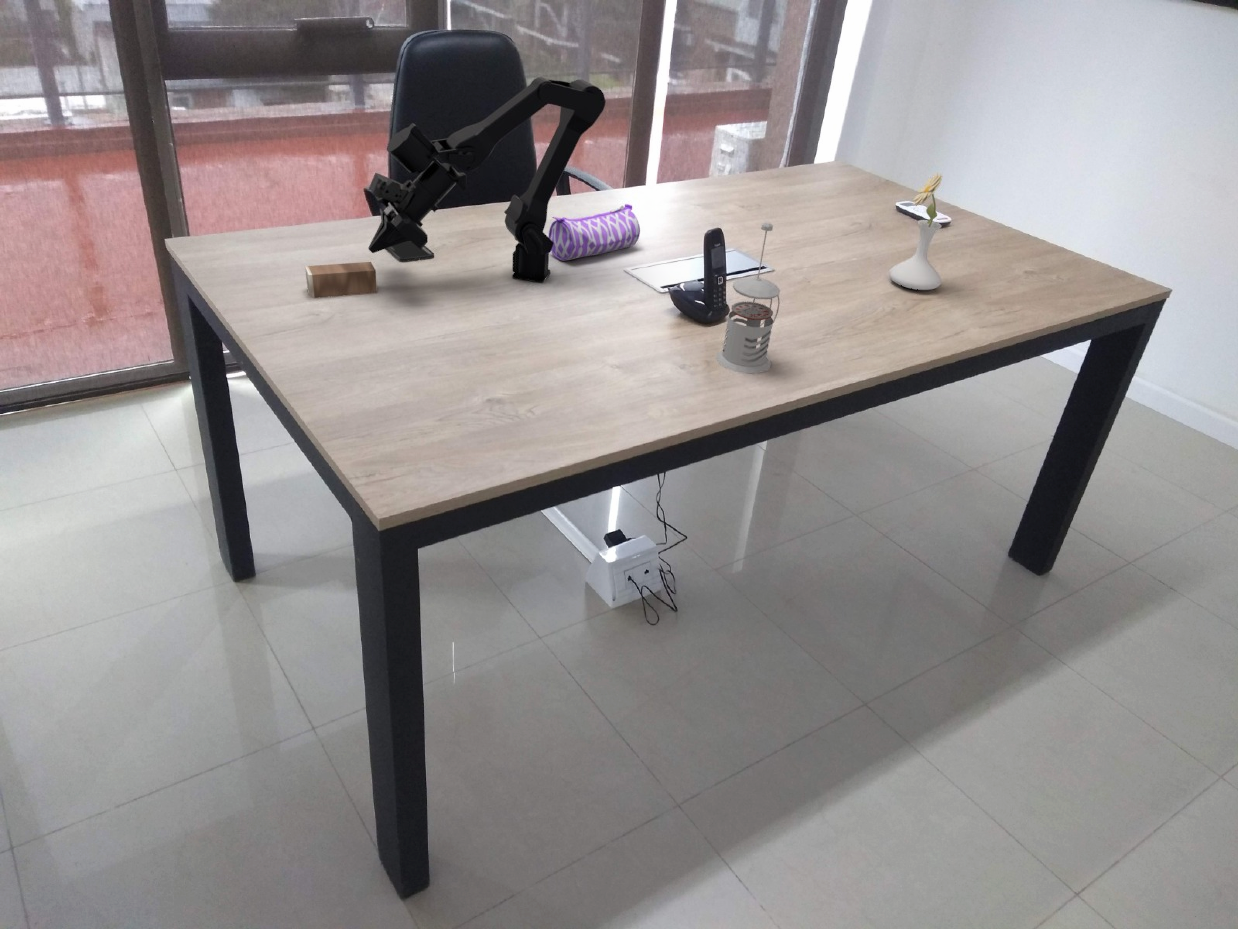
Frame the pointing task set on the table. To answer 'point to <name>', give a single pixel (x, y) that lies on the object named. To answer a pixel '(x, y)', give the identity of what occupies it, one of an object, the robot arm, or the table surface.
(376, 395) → the table surface
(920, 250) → the flower in vase
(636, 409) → the table surface
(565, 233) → the pencil case
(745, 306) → the french press
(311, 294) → the walnut block
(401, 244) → the phone
